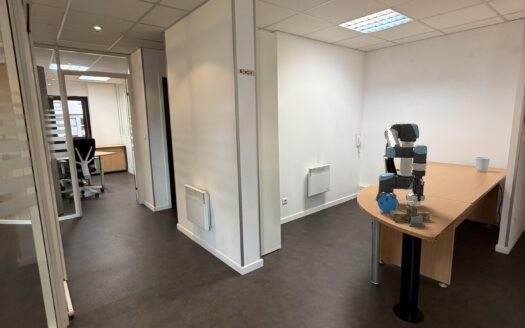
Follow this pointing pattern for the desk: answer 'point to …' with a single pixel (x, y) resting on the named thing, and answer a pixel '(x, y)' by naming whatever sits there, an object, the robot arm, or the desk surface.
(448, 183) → the desk surface
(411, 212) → the beam
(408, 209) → the tan rectangular block
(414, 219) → the grey slotted plate stand
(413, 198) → the axle
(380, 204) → the alarm clock
